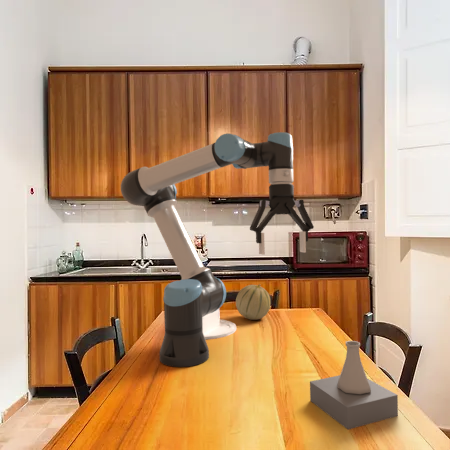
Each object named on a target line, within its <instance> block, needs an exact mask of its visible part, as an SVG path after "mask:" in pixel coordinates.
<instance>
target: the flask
mask: <svg viewBox="0 0 450 450" xmlns="http://www.w3.org/2000/svg"><path fill="white" fill-rule="evenodd" d="M345 346H346V356H345V360H344V364H343V366H342V369H341V372H340V374H339V375H340V377H339V380H338V388H339V389H341V390H342V391H344V392H345V393H352V394H364V393H369V392H371V388H370V384H369V382H368V379H369V378H368V377H367V375H366V371H365V370H364V366H363V363H362V360H361V357H360V356H361V355H360V348H361V343H360V341H356V340H347V341H346V340H345Z"/></svg>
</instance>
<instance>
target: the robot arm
mask: <svg viewBox="0 0 450 450" xmlns="http://www.w3.org/2000/svg"><path fill="white" fill-rule="evenodd" d="M293 145H294V144H293V136H292V135H291V133H288V132H283V131H282V132H281V131H280V132H273V133H270V134H268V135H267V140H266V141H263V142H256V143H255V142H254V143H253V142H250V141H247V140H246V139H244V138H242V137H240V136H239V135H237V134H233V133H224V134H221V135H220V136H219V137H218V138H217V139H216V141H215V142H213V143H210V144H208V145H205V146H203V147H200V148H198V149H195V150H193V151H189V152H187V153H185V154H182V155H180V156H177V157H174V158H172V159H169V160H166V161H165V162H164V161H163V162H161V163H160V164H156V165H154V166H151V167H148V166H142V167H139V168H137V169H134V170H132V171H130V172H128V173H127V174H126V175H125V176H124V177H123V178H122V181H121V183H120V193H121V196H122V197H123V199H124V201H127V203H129V204H131V205H133V206H139V207H141V206H142V207H143V208H144V210H145V213H146V215H147V216H148V217H151V218H153V219H154V221H155V223H156V225H157V228H158V230H159V232H160V234H161V237H162V239H163V240H164V243H165V245H166V247H167V249H168V251H169V254H170V256H171V258H172V260H173V262H174V263H175V266H176V268H177V270H178V273H179V274H180V277H181V279H180V280H174V281H172V282H170V283H169V282H168V283H167V284H166V286H165V287H164V289H163V291H164V292H163V309H164V310H163V313H164V314H163V315H164V336H163V339H162V340H163V341H162V342H161V346H160V349H159V361H160V363H161V364H163V365H165V366H168V367H174V368H186V367H193V366H197V365H201V364H203V363H204V362H206V361H207V360H209V358H210V352H209V351H210V350H209V346H208V342H207V339H206V340H205V337H204V334H203V327H202V325H203V324H202V317H203V316H205V315H207V314H209V313H213V312H214V311H216V310H217V309H219V310H220V308H221V307H222V306H223V305H224V304H225V301H226V297H227V289H226V286H225V284H224V282H223V281H222V280H221V279H220V278H217V277H216V276H214V274H213V272H212V270H211V268H210V267H209V268H208V267H206V266H205V265H204V263H203V262H202V259H201V257H200V255H199V253H198V250H197V248H196V247H195V245H194V242H193V241H192V239H191V237H190V235H189V232H188V231H187V228H186V227H185V225H184V222H183V220H182V218H181V216H180V214H179V212H178V210H177V205H178V201H177V193H178V189H177V187H176V184H180V183H182V182H185V181H187V180H190V179H194V178H196V177H199V176H201V175H204V174H207V173H209V172H210V173H211V172H212V171H216V170H219V169H222V168H225V167H228V166H230V165H232V166H233V168H234V169H238V170H239V169H246V170H247V169H252V168H260V167H261V168H262V167H268V183H269V184H270V185H269V186H268V194H269V197H268V198H269V199H268V200H265V199H260V200H259V204H258V209H257V211H256V213H255V215H254V217H253V220H252V222H251V224H250V226H249V230H250V231H252V232H254V233H255V242H256V244H258V254H259V255H265V253H266V252H265V248H266V247H265V232H263V231H264V229H265V228H266V226H267V225H268V224H269V223H270V221H271V220H272V219H273V217H274V216H275V215H288V216H290V218H291V219H292V220H293V221H294V222H295V224H296V225H297V227H299V228H300V230H301V231H299V252H300V253H304V254H305V253H307V249H306V248H307V242H309V231H311V230H312V229H313V230H314V228H315V226H314V224H313V222H312V220H311V217H310V216H309V213H308V212H307V209H306V207H305V203H304V202H305V201H304V199H297V200H295V198H294V196H295V187H294V184H293V182H294V146H293ZM294 206H295V207H296V208H297V210H298V213H299V214H300V216H299V215H298V213H297V212H296V210H295V209H294ZM267 207H268V208H270V209H269V210H268V212H267V214H266V215H265V217H264V218H263V219H262V217H263V215H264V212H265V209H266V208H267ZM301 218H302V219H301ZM261 219H262V220H261Z"/></svg>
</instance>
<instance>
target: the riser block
mask: <svg viewBox="0 0 450 450" xmlns="http://www.w3.org/2000/svg"><path fill="white" fill-rule="evenodd" d="M339 377H340V374H339V375H335V376H330V377H324V378H320V379H316V380H311V381H309V395H310V396H309V397H310V398H309V399H310V402H311V403H312V404H314V405H315V406H317V407H318V408H319V409H320V410H321V411H323V412H324V413H326V414H327V415H328V416H329V417H330V418H332V419H333V420H335V421H336V422H337V423H339V424H340V425H341V426H343V428H345V429H346V430H351V429H355V428H358V427H362V426H366V425H370V424H373V423H378V422H380V421H383V420H388V419H392V418H395V417H399V409H398V408H399V407H398V406H399V405H398V403H399V402H398V400H399V399H398V397H399V396H398V394H396V393H394V392H393V391H391V390H390V389H388V388H385V387H384V386H382V385H380V384H378V383H376V382H374V381H372V380H371V379H369V378H367V379H368V382H369V384H370V388H371V392H369V393H364V394H352V393H345V392H344V391H342V390H341V389H339V388H338V380H339Z"/></svg>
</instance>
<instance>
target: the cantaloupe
mask: <svg viewBox="0 0 450 450" xmlns="http://www.w3.org/2000/svg"><path fill="white" fill-rule="evenodd" d="M261 285H262V284H260V283H259V284H248V285H245V286H243V287H242V288H241V289H240V290H239V291H238V293H237V295H236V299H235V307H236V309H237V311H238V313H239V314H240V315H241V316H242V317H244V318H245V319H247V320H250V321H251V320H254V321H255V320H260V319H263V318H265V316H266V315H267V314H268V313H269V311H270V310H271V309H270V308H271V296H270V294H269V292H268V291H267V290H266V289H265V288H264V287H263V286H261Z"/></svg>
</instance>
